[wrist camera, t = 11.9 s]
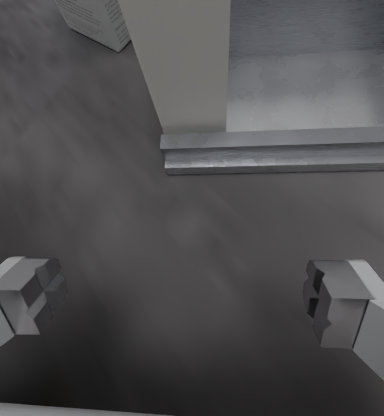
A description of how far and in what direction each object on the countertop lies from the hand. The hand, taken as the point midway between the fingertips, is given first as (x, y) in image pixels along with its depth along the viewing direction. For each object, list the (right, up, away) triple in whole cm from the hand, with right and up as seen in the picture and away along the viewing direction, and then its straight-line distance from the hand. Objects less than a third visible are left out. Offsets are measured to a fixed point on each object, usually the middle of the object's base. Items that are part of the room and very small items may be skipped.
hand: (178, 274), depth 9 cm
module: (+1, +10, +10) cm, 14 cm away
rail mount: (+7, +9, +10) cm, 15 cm away
